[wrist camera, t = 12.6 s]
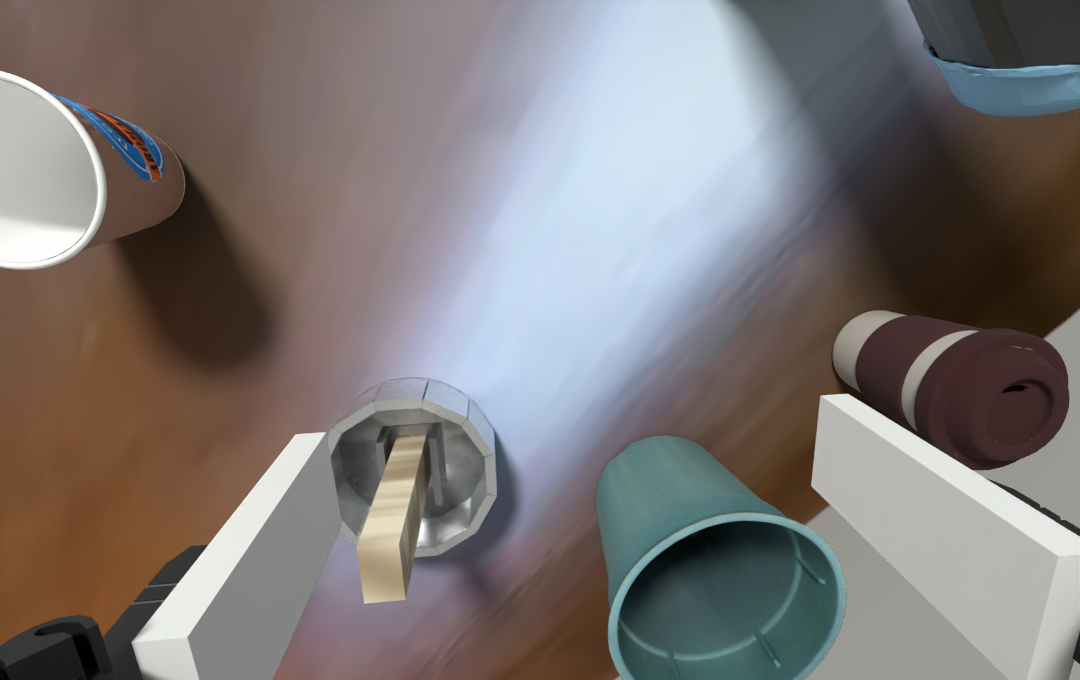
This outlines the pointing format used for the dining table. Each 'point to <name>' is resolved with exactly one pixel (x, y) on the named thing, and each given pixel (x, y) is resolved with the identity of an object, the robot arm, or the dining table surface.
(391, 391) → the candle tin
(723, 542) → the flower pot
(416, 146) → the dining table surface
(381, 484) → the cream rectangular wooden bar
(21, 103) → the coffee cup
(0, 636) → the dining table surface
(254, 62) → the dining table surface
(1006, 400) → the coffee cup
